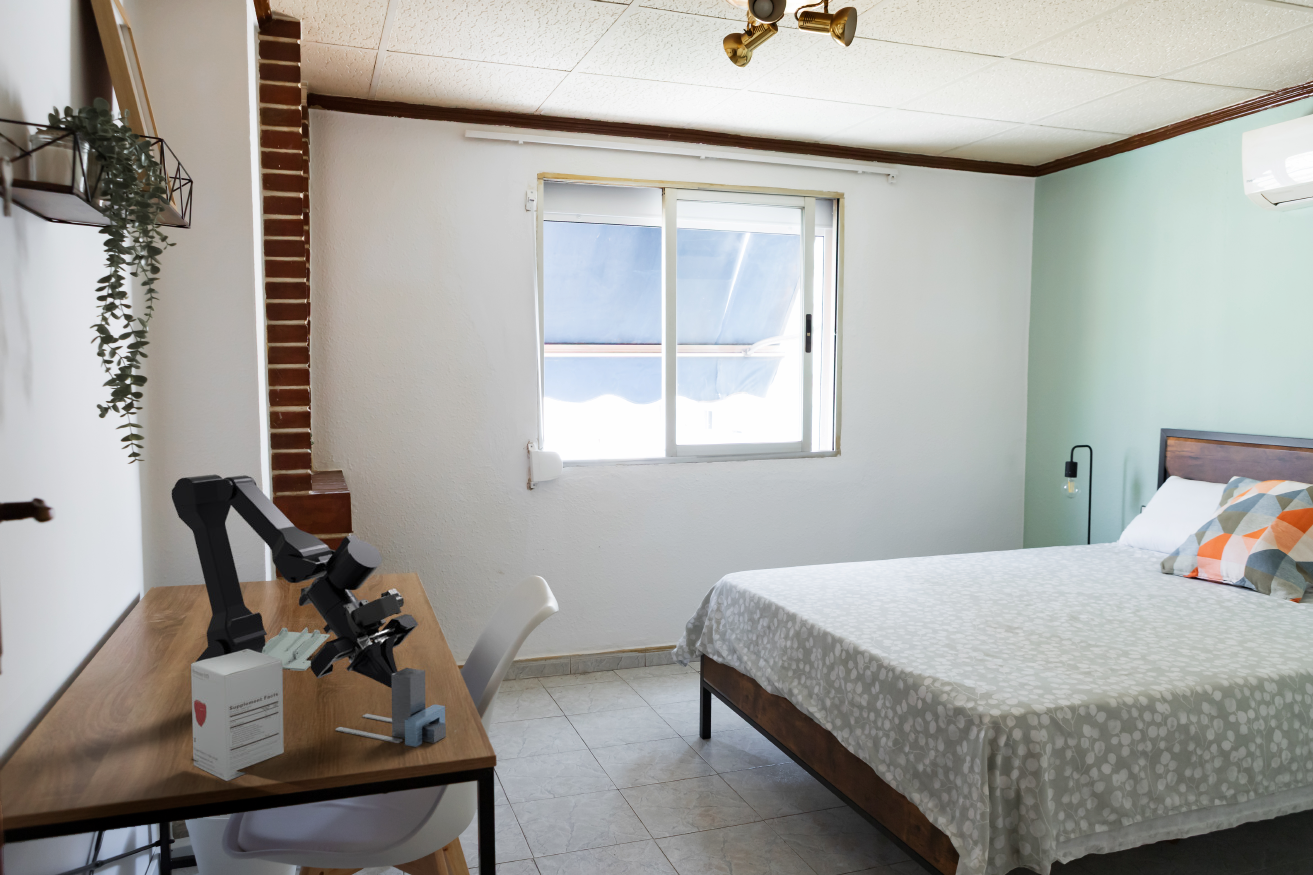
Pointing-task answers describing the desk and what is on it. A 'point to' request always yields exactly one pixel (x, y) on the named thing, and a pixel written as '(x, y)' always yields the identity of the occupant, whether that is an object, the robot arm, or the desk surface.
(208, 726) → the supplement box
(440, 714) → the blue gray railed fixture
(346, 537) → the robot arm
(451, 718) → the desk surface
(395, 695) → the tall gray pillar
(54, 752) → the desk surface
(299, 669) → the metal bracket
